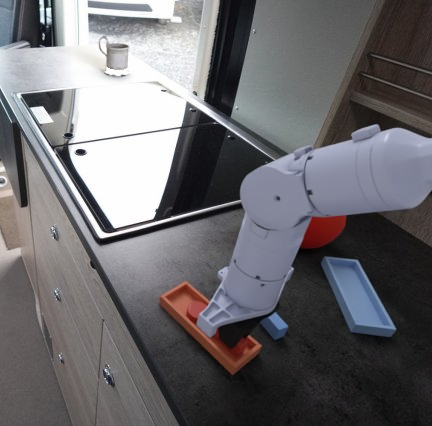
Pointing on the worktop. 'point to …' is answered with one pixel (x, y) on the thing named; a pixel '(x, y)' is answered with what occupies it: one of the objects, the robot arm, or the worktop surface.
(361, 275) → the blue rest
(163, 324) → the worktop surface
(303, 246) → the tomato
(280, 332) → the blue spoon
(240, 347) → the red spoon
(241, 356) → the orange tray
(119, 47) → the mug
